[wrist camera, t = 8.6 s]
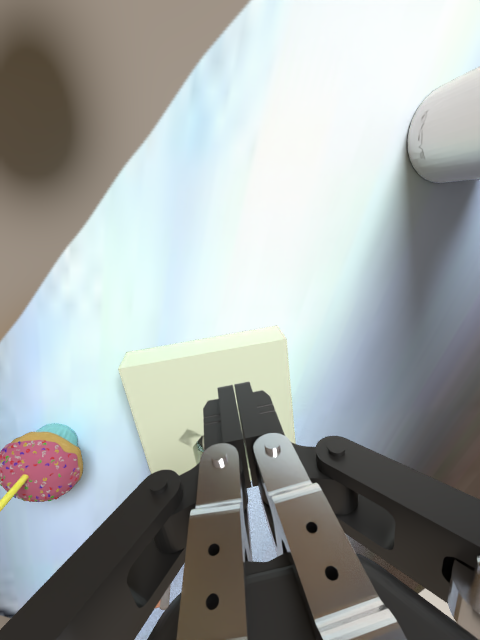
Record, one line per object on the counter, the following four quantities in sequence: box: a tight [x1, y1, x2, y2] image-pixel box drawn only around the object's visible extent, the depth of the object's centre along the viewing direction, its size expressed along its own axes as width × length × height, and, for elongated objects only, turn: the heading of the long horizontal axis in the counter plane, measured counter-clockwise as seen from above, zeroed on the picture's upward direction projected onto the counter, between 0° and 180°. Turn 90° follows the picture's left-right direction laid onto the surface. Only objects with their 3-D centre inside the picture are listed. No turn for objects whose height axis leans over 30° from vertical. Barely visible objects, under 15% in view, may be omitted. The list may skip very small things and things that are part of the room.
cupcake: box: [0, 424, 83, 511], centre depth 33 cm, size 9×8×12 cm
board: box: [118, 326, 295, 610], centre depth 32 cm, size 20×19×16 cm
